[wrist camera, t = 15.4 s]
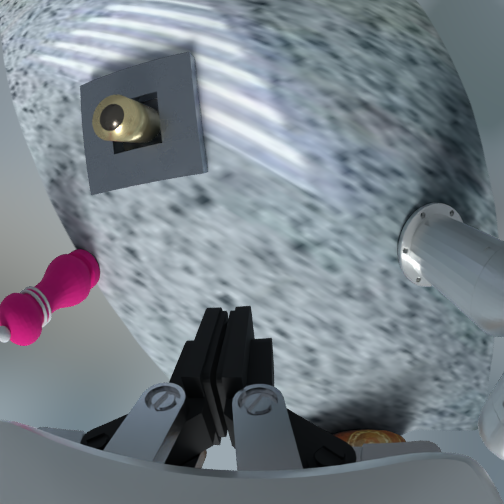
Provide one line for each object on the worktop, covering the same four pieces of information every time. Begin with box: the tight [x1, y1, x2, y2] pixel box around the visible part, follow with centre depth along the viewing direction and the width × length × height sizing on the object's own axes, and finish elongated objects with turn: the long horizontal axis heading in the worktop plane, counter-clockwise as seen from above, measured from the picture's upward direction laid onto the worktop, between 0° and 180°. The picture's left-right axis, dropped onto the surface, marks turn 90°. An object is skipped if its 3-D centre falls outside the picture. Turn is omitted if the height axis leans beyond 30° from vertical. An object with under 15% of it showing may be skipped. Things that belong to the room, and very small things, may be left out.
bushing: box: [92, 95, 161, 143], centre depth 28 cm, size 5×5×9 cm
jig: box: [80, 52, 208, 195], centre depth 30 cm, size 15×15×3 cm
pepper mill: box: [0, 249, 100, 346], centre depth 29 cm, size 7×7×20 cm
